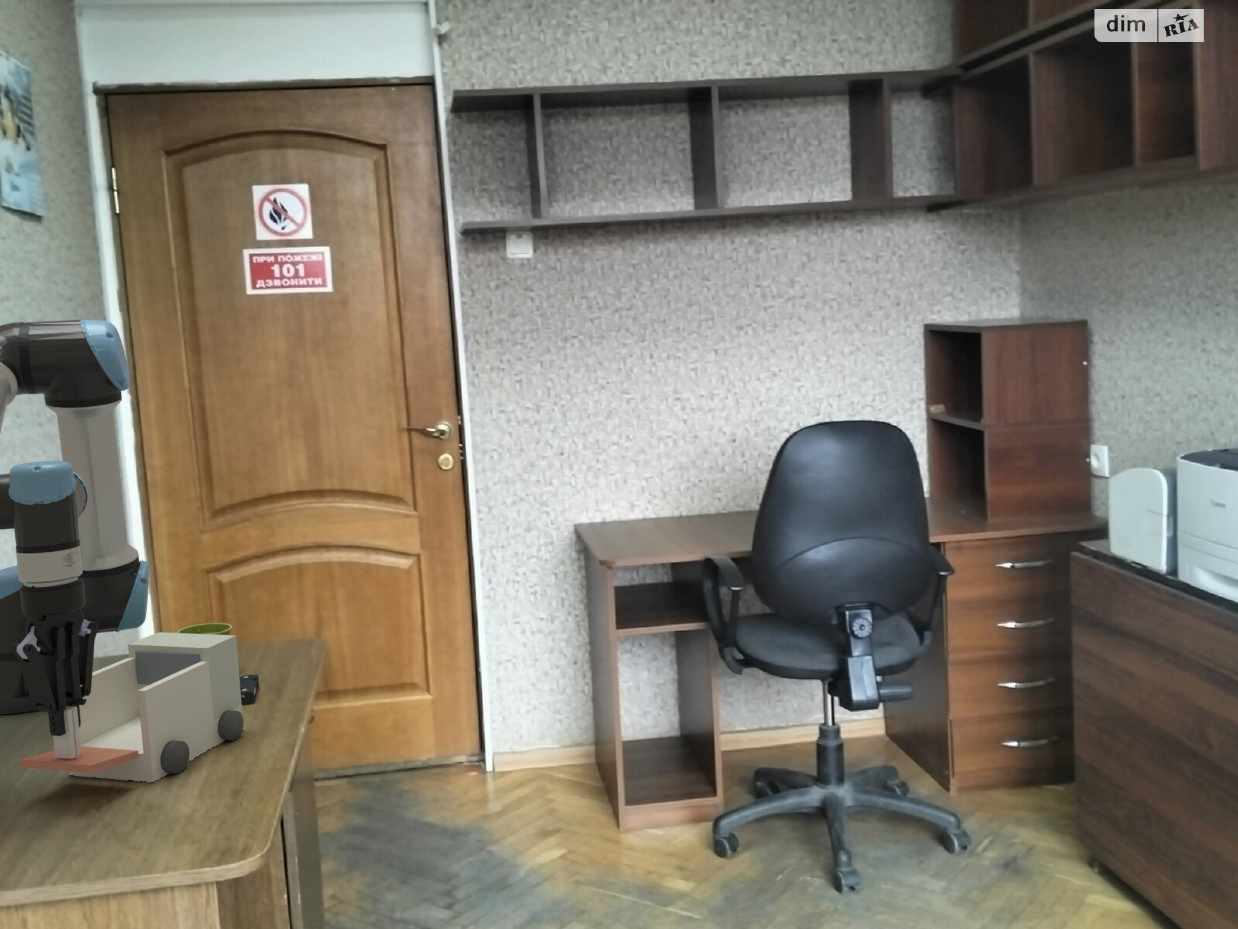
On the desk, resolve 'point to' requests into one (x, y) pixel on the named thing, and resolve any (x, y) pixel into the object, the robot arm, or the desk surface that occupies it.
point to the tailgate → (80, 760)
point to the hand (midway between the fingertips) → (68, 755)
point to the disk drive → (248, 688)
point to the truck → (164, 704)
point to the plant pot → (208, 629)
